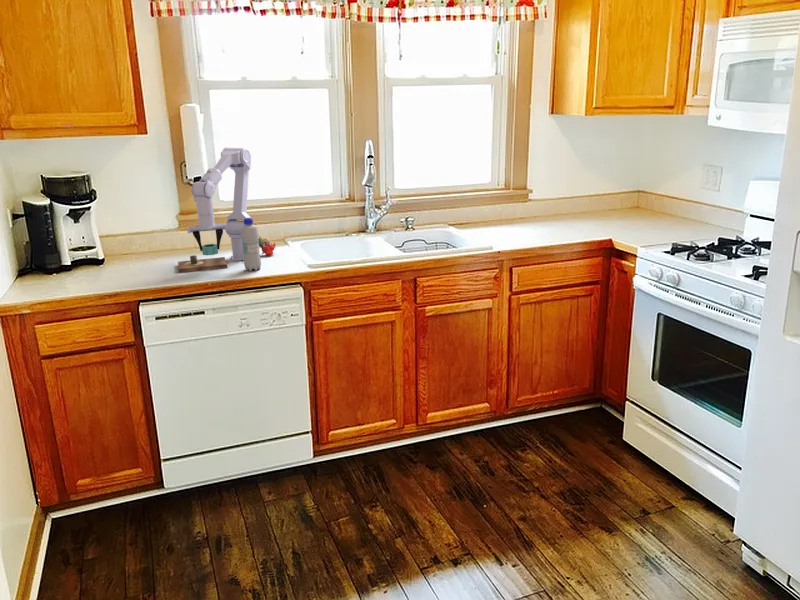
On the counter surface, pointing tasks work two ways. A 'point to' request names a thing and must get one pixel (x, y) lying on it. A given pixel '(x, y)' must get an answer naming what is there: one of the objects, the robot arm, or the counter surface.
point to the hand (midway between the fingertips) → (209, 249)
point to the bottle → (250, 245)
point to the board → (201, 264)
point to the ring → (209, 249)
